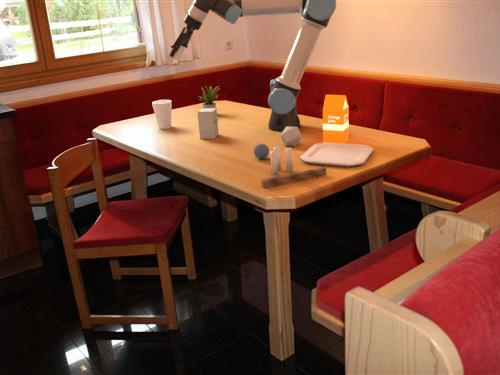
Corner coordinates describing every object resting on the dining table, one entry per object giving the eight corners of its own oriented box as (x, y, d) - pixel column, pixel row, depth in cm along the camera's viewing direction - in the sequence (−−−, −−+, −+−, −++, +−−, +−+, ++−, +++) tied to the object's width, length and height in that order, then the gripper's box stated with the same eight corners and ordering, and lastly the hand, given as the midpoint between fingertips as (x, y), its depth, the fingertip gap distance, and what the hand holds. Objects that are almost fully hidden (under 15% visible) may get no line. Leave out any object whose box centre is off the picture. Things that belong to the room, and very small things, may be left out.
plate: (361, 170, 188) (361, 165, 188) (296, 165, 199) (296, 159, 198) (376, 150, 209) (376, 145, 208) (316, 146, 219) (316, 141, 219)
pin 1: (276, 172, 191) (275, 150, 188) (279, 174, 189) (278, 151, 186) (270, 173, 191) (269, 151, 187) (273, 175, 188) (272, 152, 185)
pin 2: (291, 169, 193) (290, 147, 190) (294, 171, 191) (293, 149, 188) (285, 170, 193) (284, 148, 189) (288, 172, 190) (287, 150, 187)
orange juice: (329, 138, 228) (328, 92, 221) (348, 139, 224) (349, 93, 217) (322, 143, 222) (322, 96, 214) (343, 145, 218) (343, 97, 210)
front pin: (279, 167, 196) (278, 146, 193) (281, 169, 194) (281, 147, 191) (273, 168, 195) (272, 147, 192) (276, 170, 193) (275, 148, 190)
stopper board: (323, 173, 187) (323, 167, 186) (326, 175, 185) (326, 168, 184) (261, 186, 179) (261, 179, 178) (264, 188, 177) (263, 181, 176)
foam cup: (152, 129, 262) (148, 103, 257) (161, 124, 270) (158, 99, 265) (168, 130, 258) (165, 104, 254) (177, 125, 266) (174, 99, 261)
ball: (265, 155, 211) (265, 140, 209) (271, 159, 206) (271, 144, 204) (252, 157, 209) (251, 143, 207) (257, 161, 204) (256, 147, 202)
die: (290, 150, 217) (303, 131, 215) (274, 139, 219) (287, 120, 217) (295, 152, 224) (308, 133, 222) (279, 140, 227) (292, 122, 225)
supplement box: (215, 138, 238) (212, 111, 234) (199, 139, 240) (196, 111, 235) (219, 134, 245) (216, 107, 240) (204, 134, 246) (201, 108, 242)
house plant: (230, 112, 286) (227, 82, 280) (218, 118, 274) (216, 87, 268) (207, 111, 292) (204, 81, 286) (194, 117, 280) (191, 86, 274)
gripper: (193, 11, 233) (171, 52, 241) (180, 14, 210) (156, 59, 218) (208, 20, 234) (185, 61, 242) (197, 24, 211) (172, 69, 219)
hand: (172, 60), depth 230 cm, fingers open, 13 cm apart
